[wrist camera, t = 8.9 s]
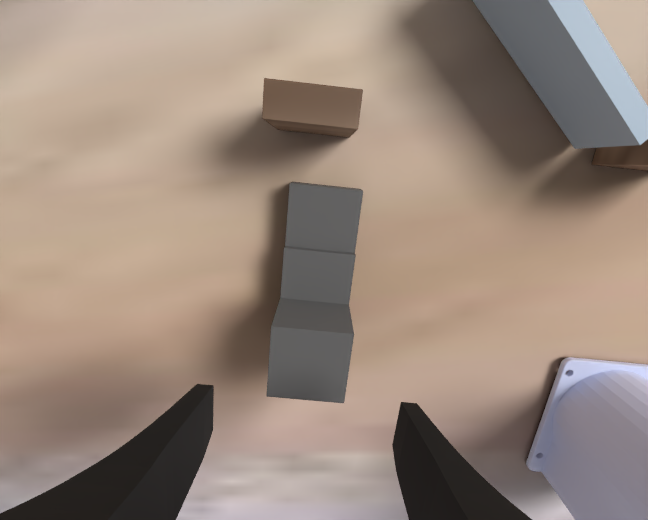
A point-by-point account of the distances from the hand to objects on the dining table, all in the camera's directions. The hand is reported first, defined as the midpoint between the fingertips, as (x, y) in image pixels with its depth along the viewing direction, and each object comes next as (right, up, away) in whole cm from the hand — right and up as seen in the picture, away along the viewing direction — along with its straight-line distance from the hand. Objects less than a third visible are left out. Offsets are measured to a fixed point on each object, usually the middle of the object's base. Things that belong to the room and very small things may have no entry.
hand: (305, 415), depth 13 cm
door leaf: (+12, +17, +4) cm, 21 cm away
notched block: (0, +5, +8) cm, 10 cm away
